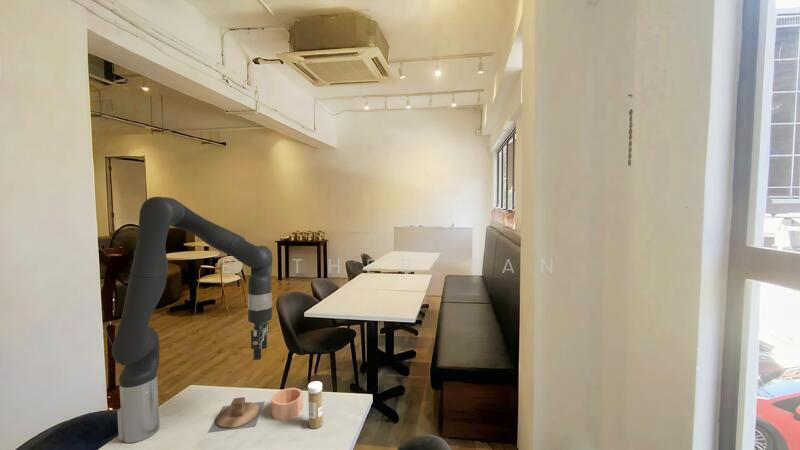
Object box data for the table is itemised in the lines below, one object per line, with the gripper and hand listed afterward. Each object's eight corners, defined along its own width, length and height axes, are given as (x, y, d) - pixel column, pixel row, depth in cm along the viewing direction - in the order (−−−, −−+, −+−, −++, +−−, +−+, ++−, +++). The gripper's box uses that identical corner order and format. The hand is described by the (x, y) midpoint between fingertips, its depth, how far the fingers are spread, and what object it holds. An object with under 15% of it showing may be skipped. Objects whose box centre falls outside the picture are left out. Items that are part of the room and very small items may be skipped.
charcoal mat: (207, 434, 102) (207, 432, 102) (223, 407, 116) (223, 406, 116) (255, 428, 105) (255, 426, 105) (264, 403, 119) (264, 401, 119)
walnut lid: (210, 431, 103) (209, 414, 103) (224, 406, 116) (223, 392, 115) (254, 425, 105) (253, 409, 105) (263, 402, 118) (262, 388, 118)
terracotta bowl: (269, 424, 107) (268, 406, 107) (275, 406, 117) (274, 389, 117) (301, 420, 109) (300, 402, 109) (304, 402, 119) (303, 386, 118)
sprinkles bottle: (325, 425, 106) (324, 385, 105) (311, 431, 103) (310, 389, 103) (320, 418, 110) (319, 379, 109) (306, 423, 107) (305, 383, 106)
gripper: (253, 300, 115) (254, 345, 116) (241, 313, 101) (242, 364, 102) (276, 299, 117) (276, 344, 118) (267, 312, 103) (267, 362, 104)
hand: (260, 353), depth 110 cm, fingers open, 8 cm apart
